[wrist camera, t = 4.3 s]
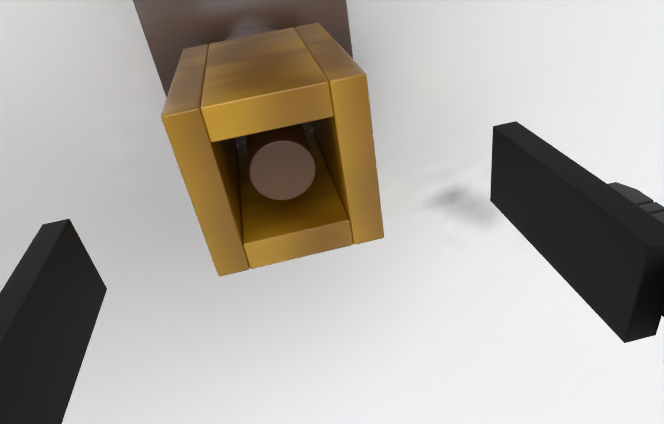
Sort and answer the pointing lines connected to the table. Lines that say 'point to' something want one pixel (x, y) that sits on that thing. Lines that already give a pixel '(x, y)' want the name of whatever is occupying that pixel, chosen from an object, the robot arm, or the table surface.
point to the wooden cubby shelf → (267, 114)
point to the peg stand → (235, 22)
